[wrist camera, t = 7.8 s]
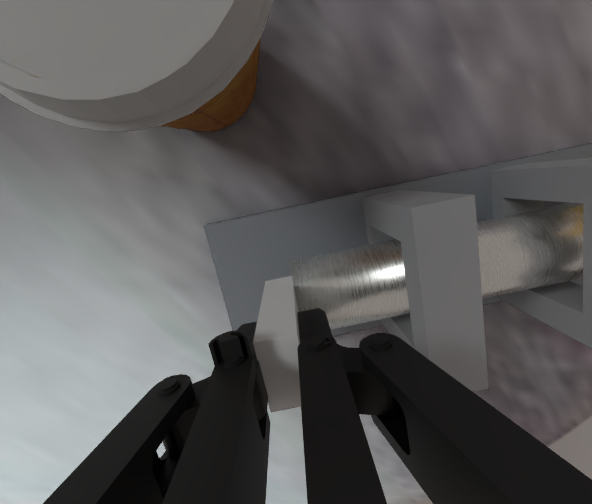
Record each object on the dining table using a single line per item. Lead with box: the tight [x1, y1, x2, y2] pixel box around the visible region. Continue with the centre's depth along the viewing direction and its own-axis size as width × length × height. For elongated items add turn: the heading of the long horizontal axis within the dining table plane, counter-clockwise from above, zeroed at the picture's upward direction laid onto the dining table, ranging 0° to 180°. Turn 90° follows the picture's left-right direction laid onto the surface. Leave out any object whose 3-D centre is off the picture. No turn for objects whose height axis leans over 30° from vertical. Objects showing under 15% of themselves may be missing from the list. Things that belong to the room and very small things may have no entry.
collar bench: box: [204, 143, 592, 392], centre depth 15 cm, size 28×9×11 cm, turn 102°
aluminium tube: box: [290, 203, 584, 330], centre depth 16 cm, size 22×4×4 cm, turn 102°
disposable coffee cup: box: [0, 0, 274, 132], centre depth 12 cm, size 10×10×12 cm
